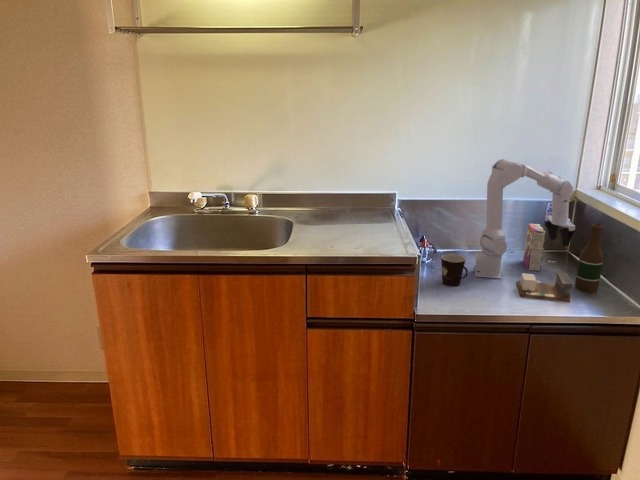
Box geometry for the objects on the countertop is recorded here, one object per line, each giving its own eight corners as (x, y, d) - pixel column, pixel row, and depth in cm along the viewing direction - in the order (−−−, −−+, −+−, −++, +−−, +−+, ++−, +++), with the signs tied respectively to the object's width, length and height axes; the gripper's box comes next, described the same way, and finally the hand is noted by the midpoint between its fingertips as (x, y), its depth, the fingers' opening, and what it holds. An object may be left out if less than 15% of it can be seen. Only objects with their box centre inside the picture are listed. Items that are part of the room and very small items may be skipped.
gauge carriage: (523, 293, 170) (525, 282, 169) (520, 283, 178) (521, 273, 177) (542, 295, 168) (543, 284, 167) (538, 285, 176) (539, 274, 175)
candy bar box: (522, 260, 204) (527, 223, 199) (534, 261, 203) (540, 223, 198) (527, 270, 194) (533, 231, 189) (540, 271, 193) (546, 231, 188)
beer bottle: (578, 282, 183) (589, 220, 175) (601, 288, 177) (613, 225, 170) (570, 288, 177) (581, 225, 170) (593, 294, 172) (606, 229, 165)
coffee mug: (437, 278, 186) (439, 253, 183) (459, 278, 186) (462, 254, 183) (443, 291, 175) (445, 265, 172) (467, 291, 175) (470, 265, 172)
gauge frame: (519, 297, 170) (522, 280, 168) (516, 283, 181) (518, 268, 179) (570, 302, 167) (572, 285, 165) (563, 288, 178) (565, 272, 176)
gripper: (582, 212, 183) (581, 246, 188) (557, 203, 196) (556, 234, 201) (566, 216, 182) (564, 250, 187) (541, 206, 195) (540, 238, 200)
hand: (559, 242), depth 194 cm, fingers open, 7 cm apart
